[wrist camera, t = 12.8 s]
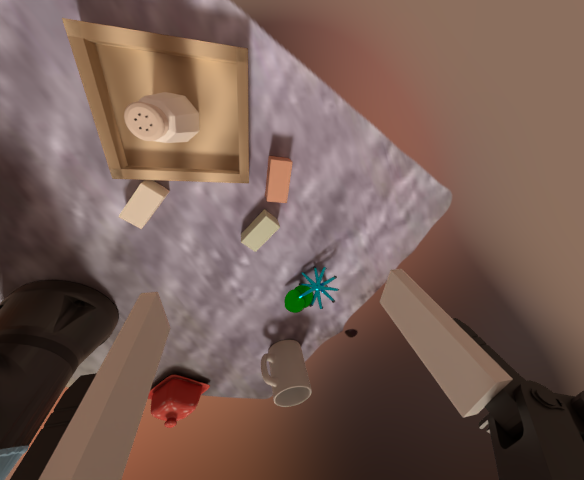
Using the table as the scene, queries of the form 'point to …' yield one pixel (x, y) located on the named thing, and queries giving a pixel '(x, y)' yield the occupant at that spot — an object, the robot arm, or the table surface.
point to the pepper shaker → (162, 118)
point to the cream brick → (144, 203)
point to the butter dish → (175, 398)
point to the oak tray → (173, 79)
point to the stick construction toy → (308, 293)
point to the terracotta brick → (278, 179)
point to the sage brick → (259, 230)
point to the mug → (286, 373)
